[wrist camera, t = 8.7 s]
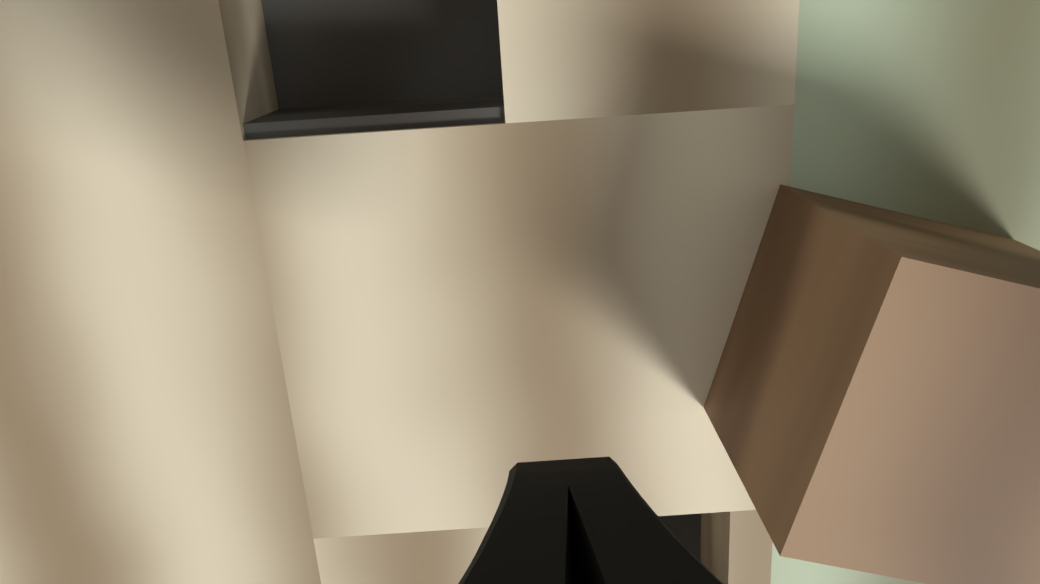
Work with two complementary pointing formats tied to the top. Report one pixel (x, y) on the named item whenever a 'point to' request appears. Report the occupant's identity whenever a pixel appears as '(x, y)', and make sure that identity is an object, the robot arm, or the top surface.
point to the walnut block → (887, 393)
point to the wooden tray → (434, 258)
